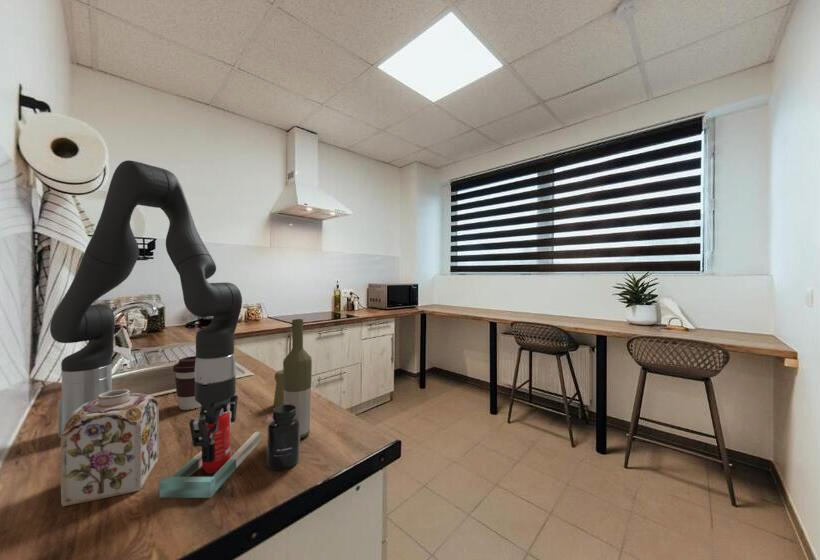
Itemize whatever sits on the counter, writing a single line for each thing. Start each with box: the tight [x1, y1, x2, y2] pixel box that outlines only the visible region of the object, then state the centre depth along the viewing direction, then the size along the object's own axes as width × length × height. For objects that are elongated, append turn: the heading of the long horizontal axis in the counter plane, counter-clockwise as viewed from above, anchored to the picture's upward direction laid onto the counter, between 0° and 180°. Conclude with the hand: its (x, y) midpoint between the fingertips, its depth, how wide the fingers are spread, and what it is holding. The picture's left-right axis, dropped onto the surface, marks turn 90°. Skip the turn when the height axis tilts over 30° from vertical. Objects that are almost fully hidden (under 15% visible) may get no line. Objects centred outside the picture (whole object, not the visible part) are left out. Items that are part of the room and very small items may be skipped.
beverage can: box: [201, 410, 231, 474], centre depth 70 cm, size 5×5×12 cm
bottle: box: [282, 318, 313, 439], centre depth 83 cm, size 7×7×30 cm
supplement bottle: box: [266, 405, 301, 471], centre depth 72 cm, size 7×7×12 cm
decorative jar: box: [60, 389, 160, 507], centre depth 65 cm, size 12×12×18 cm
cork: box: [272, 369, 284, 408], centre depth 103 cm, size 6×6×11 cm
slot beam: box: [158, 431, 262, 499], centre depth 71 cm, size 10×21×3 cm, turn 0°
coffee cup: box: [172, 355, 201, 411], centre depth 101 cm, size 10×10×15 cm
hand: (216, 453), depth 70 cm, fingers closed on beverage can, 5 cm apart
